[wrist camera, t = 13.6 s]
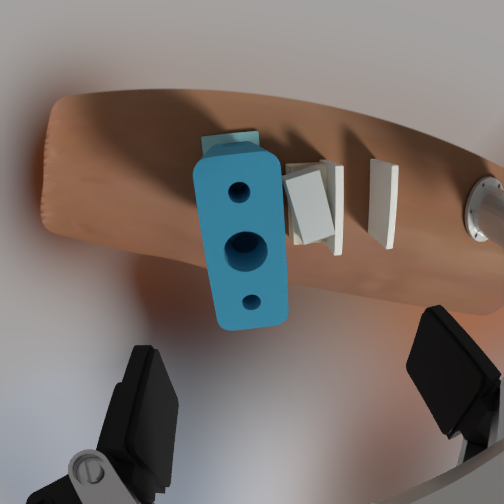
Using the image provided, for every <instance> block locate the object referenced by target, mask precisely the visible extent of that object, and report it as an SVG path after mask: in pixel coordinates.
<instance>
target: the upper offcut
mask: <svg viewBox="0 0 504 504" xmlns="http://www.w3.org/2000/svg"><path fill="white" fill-rule="evenodd" d="M282 183H283V186H284V189H285V192H286V196H287V199H288V202H289V205H290V209H291V212H292V215H293V219H294V222H295V225H296V229H297V232H298V236H299V237H300V239H301V240H302V242H303V244H304V245H306V244H308V243H311V242H314V241H317V240H320V239H323V238H326V237H328V236H331V235H334V234H335V230H334V226H333V221H332V217H331V213H330V209H329V205H328V201H327V197H326V193H325V189H324V185H323V182H322V178H321V174H320V171H319V170H318V169H316V168H314V167H312V166H311V167H308V168H305V169H302V170H299V171H295V172H292V173H289V174H286V175H283V176H282Z"/></svg>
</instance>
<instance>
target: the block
mask: <svg viewBox="0 0 504 504" xmlns="http://www.w3.org/2000/svg"><path fill="white" fill-rule="evenodd" d="M193 181H194V188H195V195H196V202H197V208H198V215H199V221H200V227H201V233H202V239H203V245H204V251H205V257H206V262H207V268H208V274H209V279H210V284H211V289H212V295H213V300H214V305H215V310H216V315H217V320H218V323H219V325H220V326H221V327H222V328H223V329H226V330H230V331H231V330H242V329H251V328H259V327H267V326H274V325H279V324H281V323H283V322H284V321H285V320H286V319H287V317H288V286H287V261H286V241H285V223H284V206H283V190H282V176H281V165H280V162H279V160H278V158H277V157H276V156H275V155H273V154H272V153H270V152H269V151H267V150H265V149H263V148H262V147H260V146H258V145H256V144H255V143H253V142H250V141H242V142H233V143H224V144H216V145H213V146H212V147H211V148H210V149H209V150H208V151H207V152H206V153H205V155H204V156H203V157H202V158H201V159H200V160H199V162H198V163H197V164H196V166H195V167H194V170H193Z"/></svg>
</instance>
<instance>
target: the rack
mask: <svg viewBox="0 0 504 504" xmlns="http://www.w3.org/2000/svg"><path fill="white" fill-rule="evenodd" d="M319 162H320V163H323V164H325V165H327V201H328V205H329V209H330V213H331V217H332V221H333V226H334V230H335V234H334V235H331V236H328V237H327V241H326V242H324V243H325V244H326V245H327V247H328V248H329V249H330V251H331V252H332V253H333V254H334V256H335V255H342V240H343V204H344V167H343V165H340V164H337V163H335V162H332V161H329V160H319ZM397 191H398V165H395V164H392V163H389V162H385V161H382V160H378V159H370V198H369V220H368V234H369V235H371V236H372V237H373V238H374V239H375V240H376V241H378V242H379V243H380V244H381V245H382V246H383V247H384V248H386V249H392V248H393V241H394V231H395V220H396V208H397Z"/></svg>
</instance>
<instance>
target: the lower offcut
mask: <svg viewBox="0 0 504 504" xmlns="http://www.w3.org/2000/svg"><path fill="white" fill-rule="evenodd" d="M285 165H286V174H289V173H292V172H295V171H299V170H302V169H305V168H308V167H311V166H312V167H314V168H316V169H318V170H319V171H320V174H321V178H322V182H323V185H324V189H325V193H326V197H327V165H325V164H323V163H320V162H307V163H291V164H285ZM287 200H288V199H287ZM288 220H289V237H290V239H291V240H292V242H293V244H294V245H299V244H303V242H302V240H301V239H300V237H299V236H298V232H297V229H296V225H295V222H294V219H293V215H292V212H291V209H290V205H289V202H288ZM326 241H327V237H326V238H323V239H320V240H317V241H314V242H311V243H317V242H326Z"/></svg>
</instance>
